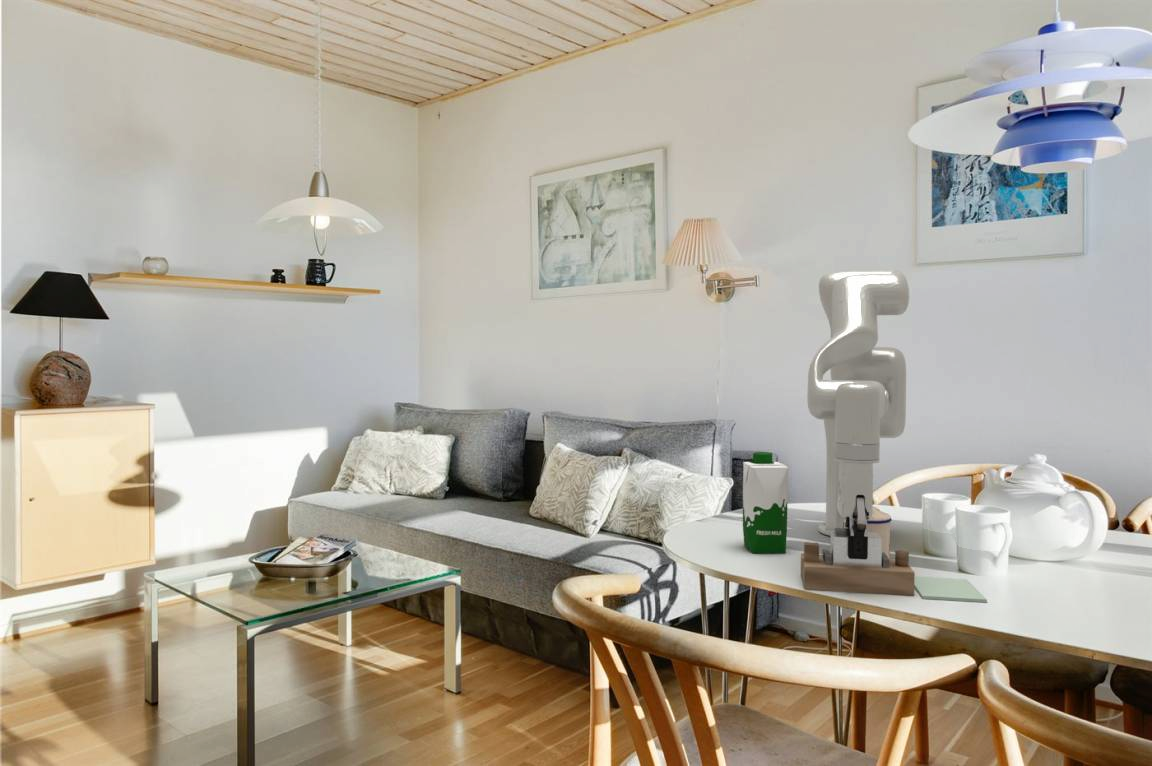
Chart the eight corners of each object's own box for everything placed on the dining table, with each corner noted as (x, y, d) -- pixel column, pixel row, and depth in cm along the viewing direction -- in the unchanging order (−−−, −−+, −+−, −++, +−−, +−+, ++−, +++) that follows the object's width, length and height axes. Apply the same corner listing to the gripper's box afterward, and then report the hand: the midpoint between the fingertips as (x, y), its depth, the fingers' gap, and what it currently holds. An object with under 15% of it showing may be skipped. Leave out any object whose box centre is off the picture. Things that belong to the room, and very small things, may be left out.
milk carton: (779, 543, 171) (780, 451, 171) (791, 554, 162) (792, 457, 162) (738, 544, 171) (739, 451, 170) (749, 554, 162) (749, 457, 161)
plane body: (800, 575, 148) (801, 537, 147) (903, 580, 144) (904, 542, 144) (804, 589, 139) (804, 549, 138) (914, 595, 135) (914, 554, 135)
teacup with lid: (901, 563, 156) (902, 504, 155) (862, 567, 153) (862, 507, 152) (861, 549, 167) (862, 494, 167) (824, 552, 164) (825, 496, 164)
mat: (907, 578, 145) (907, 576, 145) (966, 582, 143) (966, 579, 143) (922, 598, 133) (922, 595, 133) (986, 602, 131) (986, 599, 131)
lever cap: (830, 557, 144) (830, 526, 144) (876, 560, 143) (877, 528, 143) (833, 565, 139) (833, 532, 139) (881, 567, 138) (881, 534, 138)
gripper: (829, 446, 149) (828, 542, 150) (840, 458, 133) (839, 566, 133) (871, 447, 148) (869, 544, 149) (888, 459, 131) (886, 568, 132)
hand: (855, 553), depth 141 cm, fingers closed on lever cap, 5 cm apart
